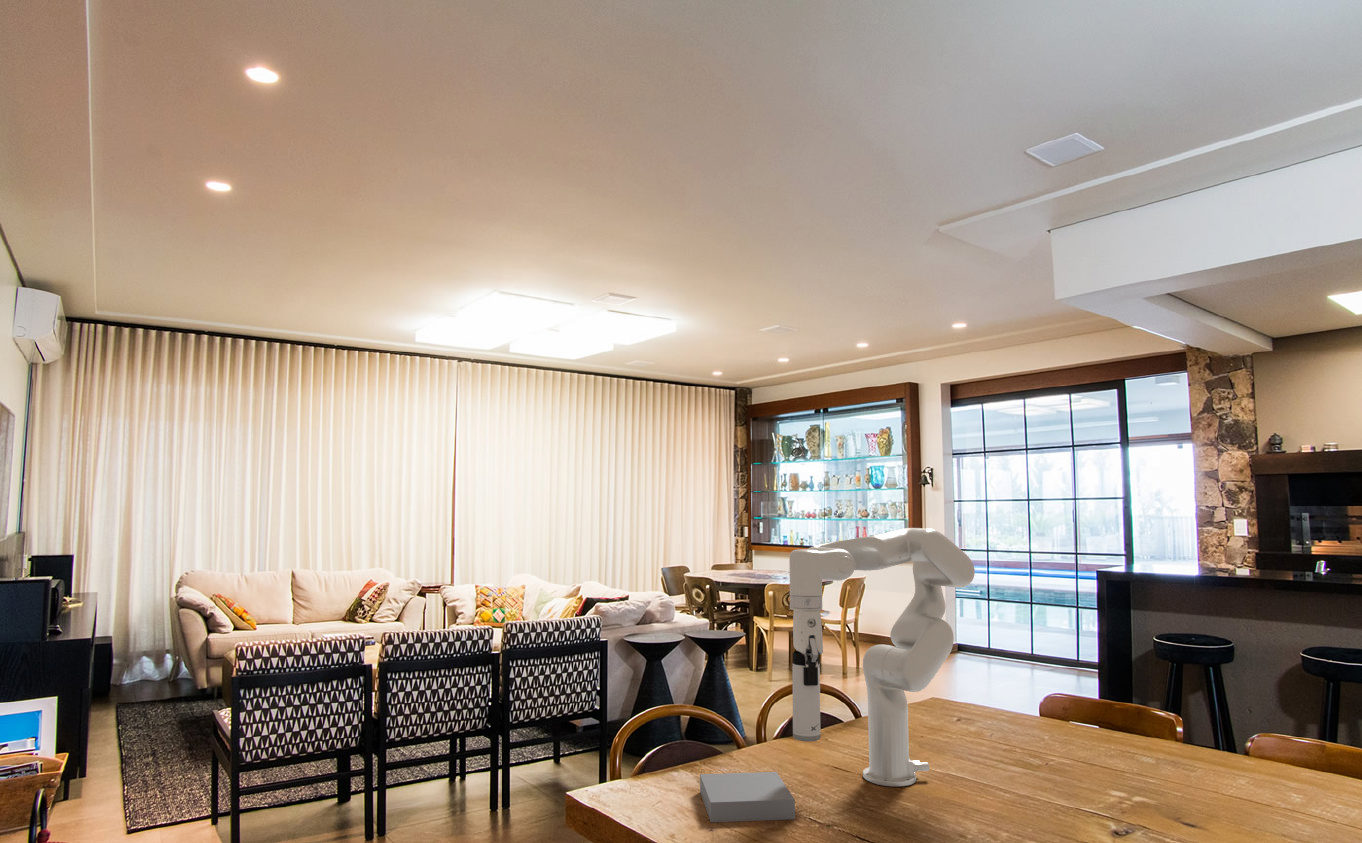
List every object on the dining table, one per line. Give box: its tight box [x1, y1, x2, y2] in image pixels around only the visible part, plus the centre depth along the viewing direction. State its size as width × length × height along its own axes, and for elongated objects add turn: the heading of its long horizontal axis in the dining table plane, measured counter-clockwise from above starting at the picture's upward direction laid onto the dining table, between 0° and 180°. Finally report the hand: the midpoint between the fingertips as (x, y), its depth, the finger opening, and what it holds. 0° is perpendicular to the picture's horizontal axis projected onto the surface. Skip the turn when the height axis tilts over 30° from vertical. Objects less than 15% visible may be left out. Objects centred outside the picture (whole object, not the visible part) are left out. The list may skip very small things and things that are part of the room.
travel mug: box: [791, 650, 821, 743], centre depth 187 cm, size 6×7×20 cm
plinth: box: [699, 771, 796, 823], centre depth 179 cm, size 18×18×4 cm
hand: (806, 681), depth 187 cm, fingers closed on travel mug, 6 cm apart
